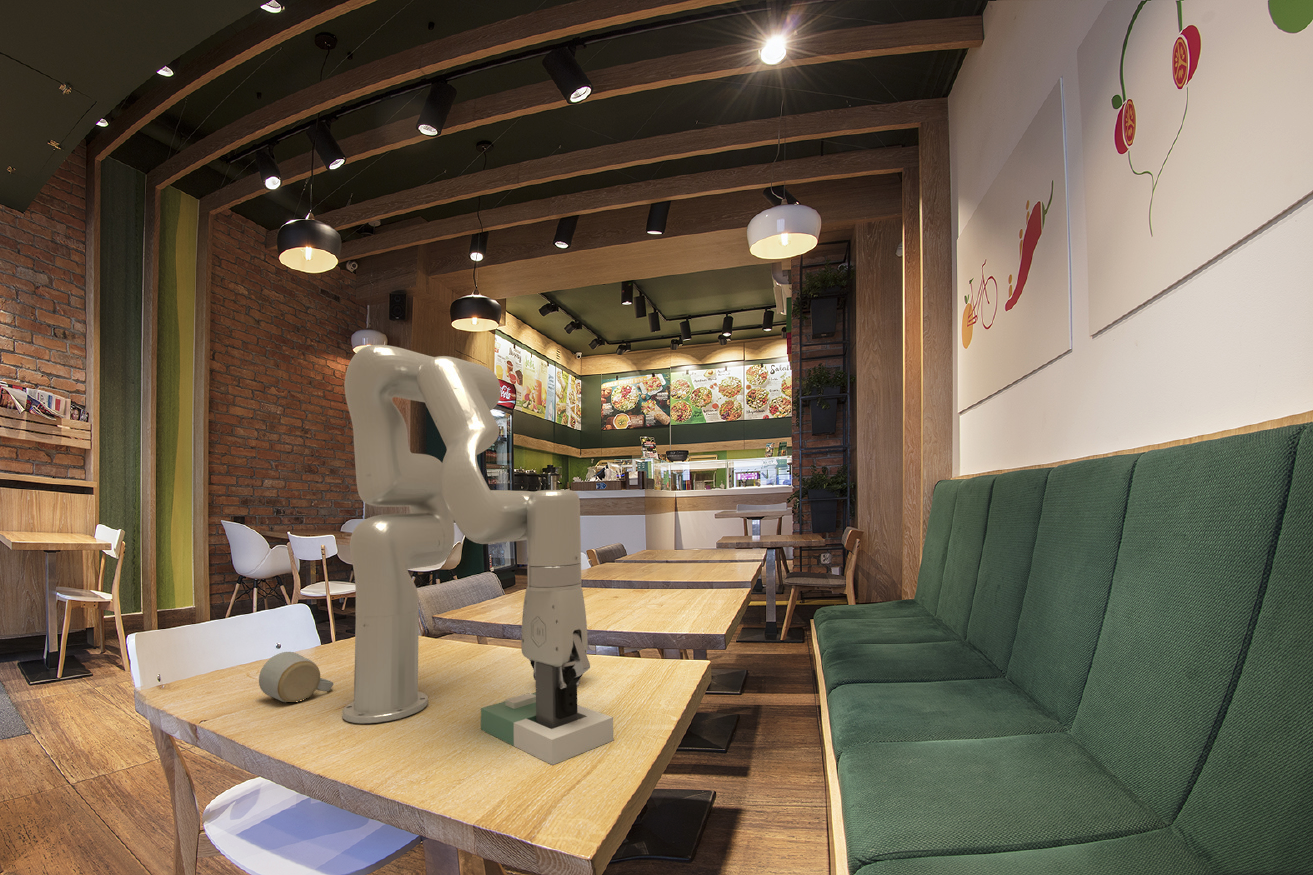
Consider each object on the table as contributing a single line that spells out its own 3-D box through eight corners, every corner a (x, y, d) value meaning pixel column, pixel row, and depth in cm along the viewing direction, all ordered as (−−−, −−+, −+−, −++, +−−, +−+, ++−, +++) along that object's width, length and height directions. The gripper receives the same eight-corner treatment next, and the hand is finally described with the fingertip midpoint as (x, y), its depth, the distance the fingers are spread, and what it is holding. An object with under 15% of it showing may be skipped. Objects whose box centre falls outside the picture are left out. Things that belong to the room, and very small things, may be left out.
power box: (480, 729, 86) (480, 702, 86) (539, 710, 93) (538, 685, 93) (552, 764, 73) (551, 732, 73) (613, 740, 80) (612, 711, 80)
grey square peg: (536, 729, 81) (535, 659, 82) (560, 721, 84) (559, 653, 85) (553, 736, 78) (552, 664, 79) (577, 727, 81) (576, 658, 82)
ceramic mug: (277, 710, 98) (279, 662, 99) (256, 701, 102) (259, 656, 103) (341, 693, 106) (343, 649, 107) (320, 686, 111) (322, 644, 112)
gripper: (500, 576, 86) (500, 706, 84) (568, 584, 75) (570, 735, 73) (543, 571, 92) (544, 693, 90) (613, 578, 80) (616, 718, 78)
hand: (556, 710), depth 81 cm, fingers closed on grey square peg, 4 cm apart
